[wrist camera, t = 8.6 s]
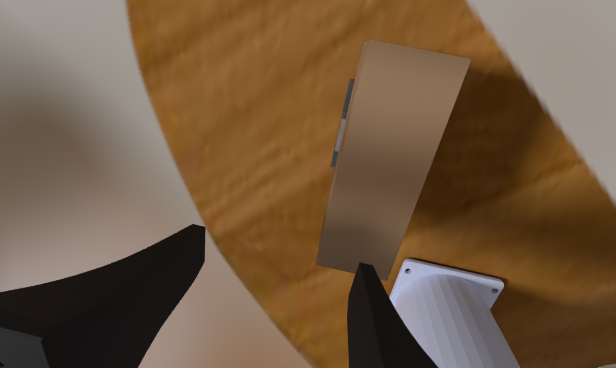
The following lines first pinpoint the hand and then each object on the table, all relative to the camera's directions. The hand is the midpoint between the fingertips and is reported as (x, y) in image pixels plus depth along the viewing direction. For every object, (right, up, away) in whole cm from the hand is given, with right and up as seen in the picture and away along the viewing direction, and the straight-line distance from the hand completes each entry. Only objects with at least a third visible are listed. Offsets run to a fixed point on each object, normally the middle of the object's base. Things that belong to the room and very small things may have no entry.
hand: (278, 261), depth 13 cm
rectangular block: (+5, +6, +4) cm, 9 cm away
